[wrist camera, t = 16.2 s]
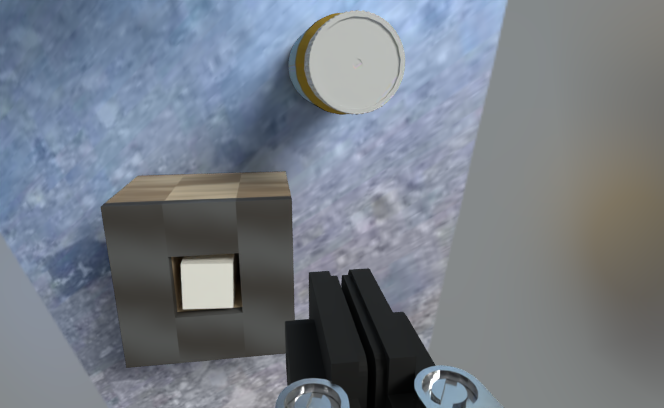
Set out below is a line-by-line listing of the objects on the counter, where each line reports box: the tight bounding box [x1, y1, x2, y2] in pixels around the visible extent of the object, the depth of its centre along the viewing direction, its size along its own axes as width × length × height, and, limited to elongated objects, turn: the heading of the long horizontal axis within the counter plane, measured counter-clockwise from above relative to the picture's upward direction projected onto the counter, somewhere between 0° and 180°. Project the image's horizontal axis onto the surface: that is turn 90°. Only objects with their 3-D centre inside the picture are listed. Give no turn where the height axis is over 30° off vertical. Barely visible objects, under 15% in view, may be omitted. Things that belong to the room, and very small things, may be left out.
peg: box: [181, 253, 239, 309], centre depth 39 cm, size 4×4×10 cm
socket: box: [101, 171, 295, 368], centre depth 39 cm, size 14×14×10 cm
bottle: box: [288, 10, 405, 115], centre depth 34 cm, size 7×7×15 cm
